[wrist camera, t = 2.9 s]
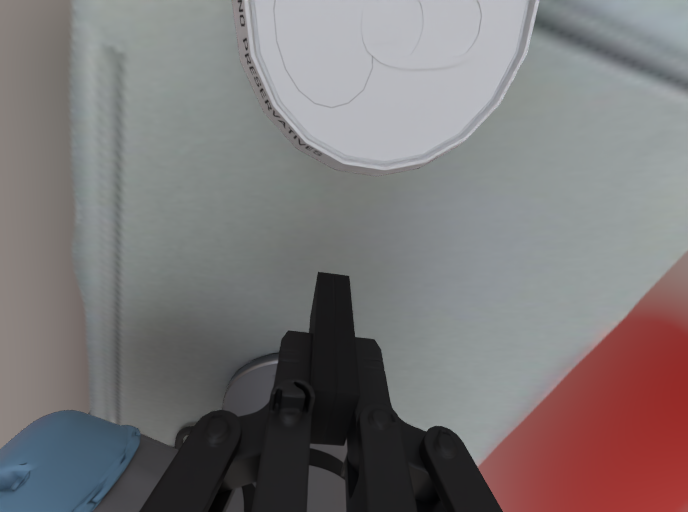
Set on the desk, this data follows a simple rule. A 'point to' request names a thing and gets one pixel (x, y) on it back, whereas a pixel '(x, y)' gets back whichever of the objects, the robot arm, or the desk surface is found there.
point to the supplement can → (381, 73)
